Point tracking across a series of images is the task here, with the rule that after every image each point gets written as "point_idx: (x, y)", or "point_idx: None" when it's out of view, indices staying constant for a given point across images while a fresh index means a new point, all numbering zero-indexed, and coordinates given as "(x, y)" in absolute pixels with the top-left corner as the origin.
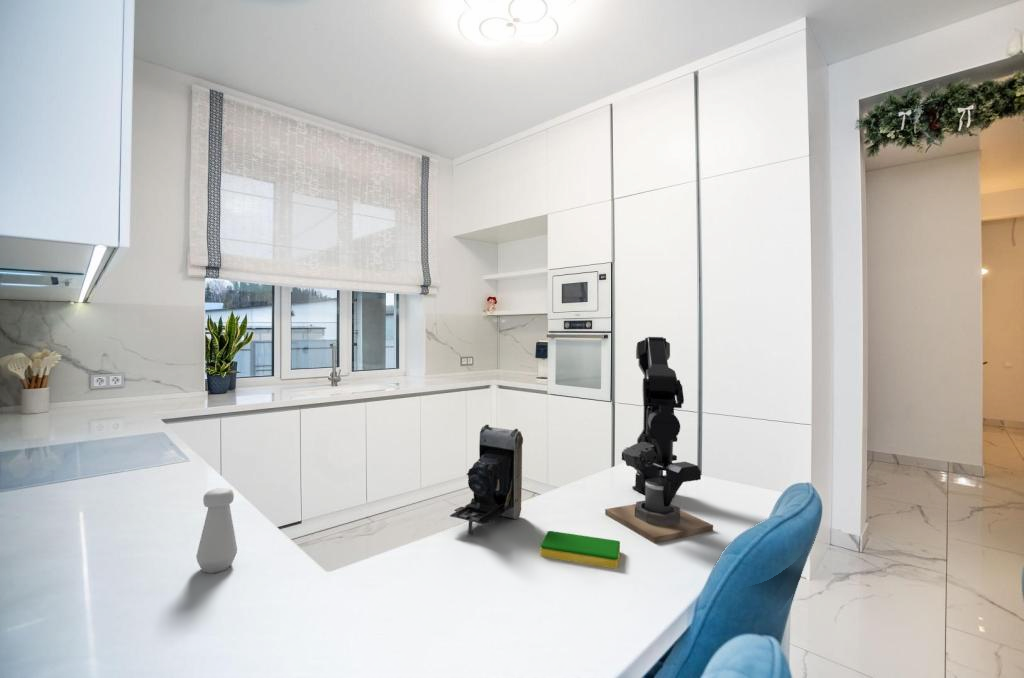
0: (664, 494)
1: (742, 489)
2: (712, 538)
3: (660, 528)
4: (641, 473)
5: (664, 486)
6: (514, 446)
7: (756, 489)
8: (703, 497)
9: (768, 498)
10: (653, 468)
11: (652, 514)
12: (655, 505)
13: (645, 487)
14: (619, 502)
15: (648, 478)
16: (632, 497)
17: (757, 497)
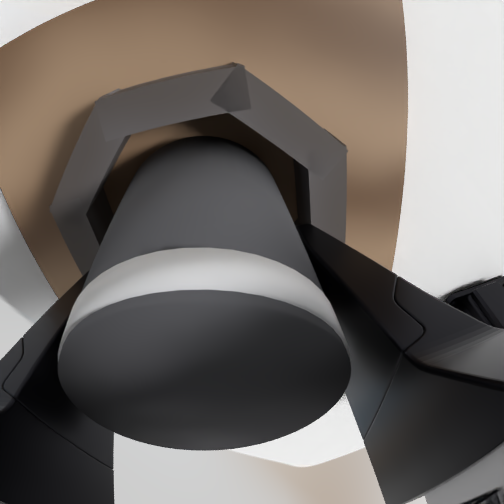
0: (56, 318)
1: (341, 450)
2: (42, 308)
3: (41, 139)
4: (448, 354)
5: (13, 378)
6: None
7: (329, 459)
8: (350, 406)
9: (285, 463)
10: (394, 477)
11: (81, 134)
12: (121, 201)
13: (333, 263)
14: (471, 155)
15: (350, 366)
16: (473, 238)
17: (297, 457)
